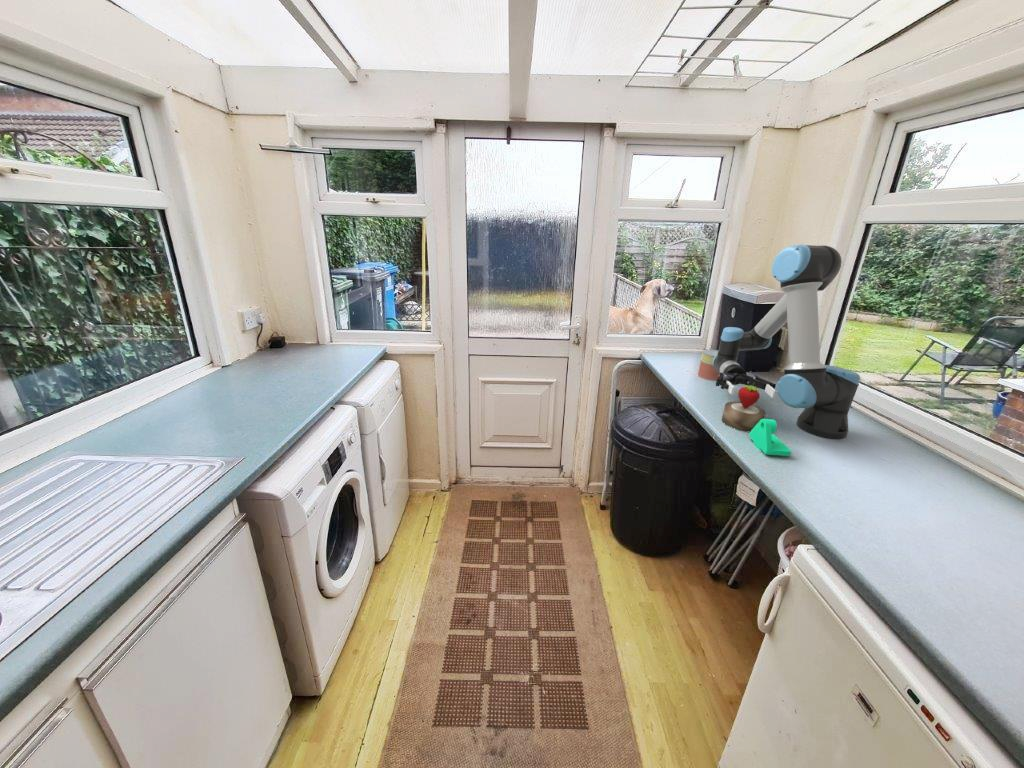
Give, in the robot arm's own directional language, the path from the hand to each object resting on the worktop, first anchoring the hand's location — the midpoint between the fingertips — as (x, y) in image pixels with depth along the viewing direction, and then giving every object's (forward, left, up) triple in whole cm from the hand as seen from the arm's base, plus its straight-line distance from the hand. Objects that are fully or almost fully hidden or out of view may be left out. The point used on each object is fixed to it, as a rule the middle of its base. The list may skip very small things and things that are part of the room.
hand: (753, 392), depth 145 cm
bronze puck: (+1, -3, -13) cm, 14 cm away
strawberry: (+1, -3, -7) cm, 8 cm away
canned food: (+16, -53, -14) cm, 57 cm away
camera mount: (-7, +13, -14) cm, 20 cm away
